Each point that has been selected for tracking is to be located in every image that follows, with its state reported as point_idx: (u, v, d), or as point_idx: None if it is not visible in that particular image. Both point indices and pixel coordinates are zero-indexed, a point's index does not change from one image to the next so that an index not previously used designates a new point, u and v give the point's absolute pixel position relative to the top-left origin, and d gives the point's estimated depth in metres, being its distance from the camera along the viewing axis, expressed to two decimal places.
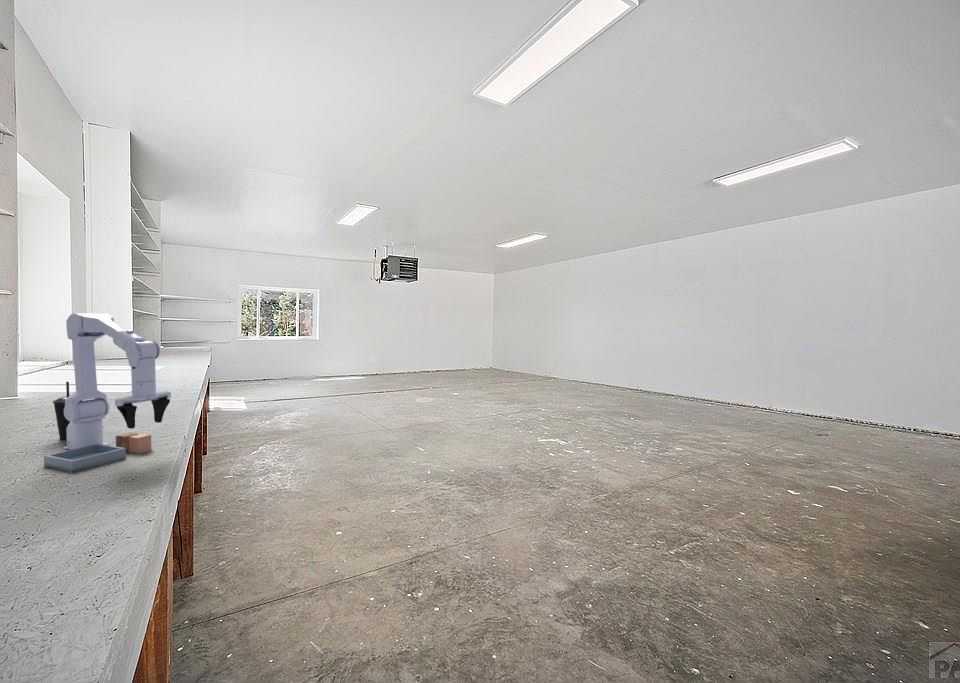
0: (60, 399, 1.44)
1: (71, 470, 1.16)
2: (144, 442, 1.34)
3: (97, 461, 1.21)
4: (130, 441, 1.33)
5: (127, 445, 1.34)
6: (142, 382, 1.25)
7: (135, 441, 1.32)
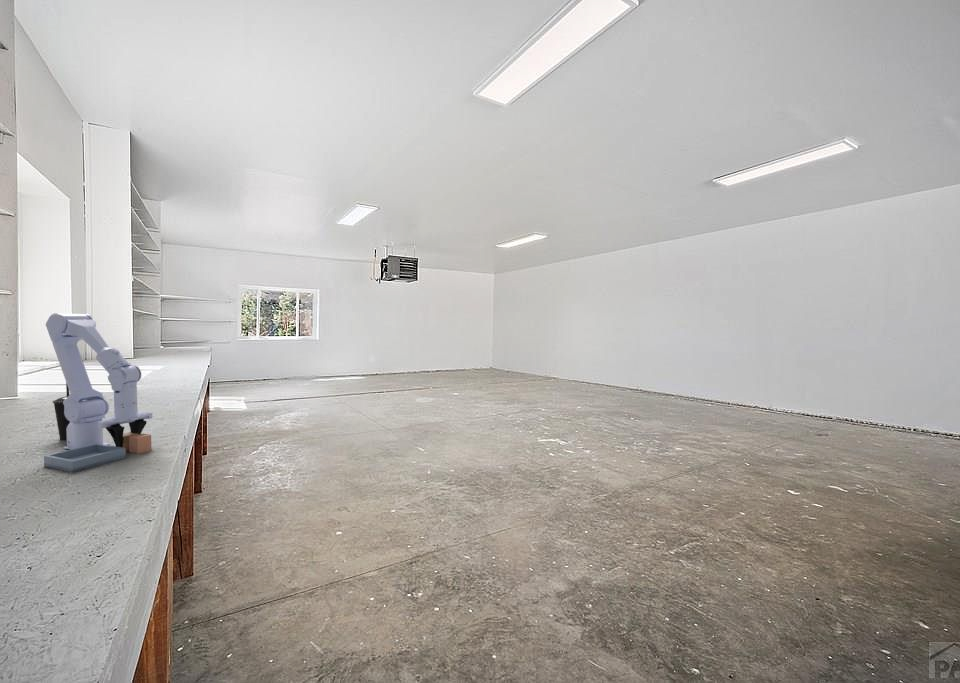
0: (60, 399, 1.44)
1: (71, 470, 1.16)
2: (144, 442, 1.34)
3: (97, 461, 1.21)
4: (130, 441, 1.33)
5: (127, 445, 1.34)
6: (124, 405, 1.33)
7: (135, 441, 1.32)
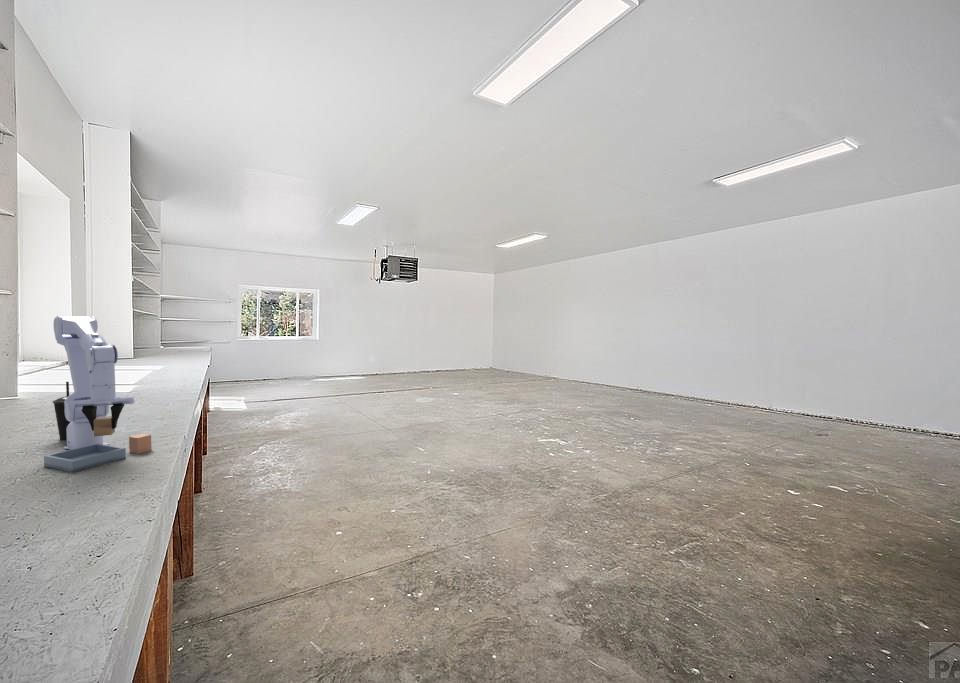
0: (60, 399, 1.44)
1: (71, 470, 1.16)
2: (144, 442, 1.34)
3: (97, 461, 1.21)
4: (130, 441, 1.33)
5: (97, 429, 1.27)
6: (93, 386, 1.26)
7: (135, 441, 1.32)
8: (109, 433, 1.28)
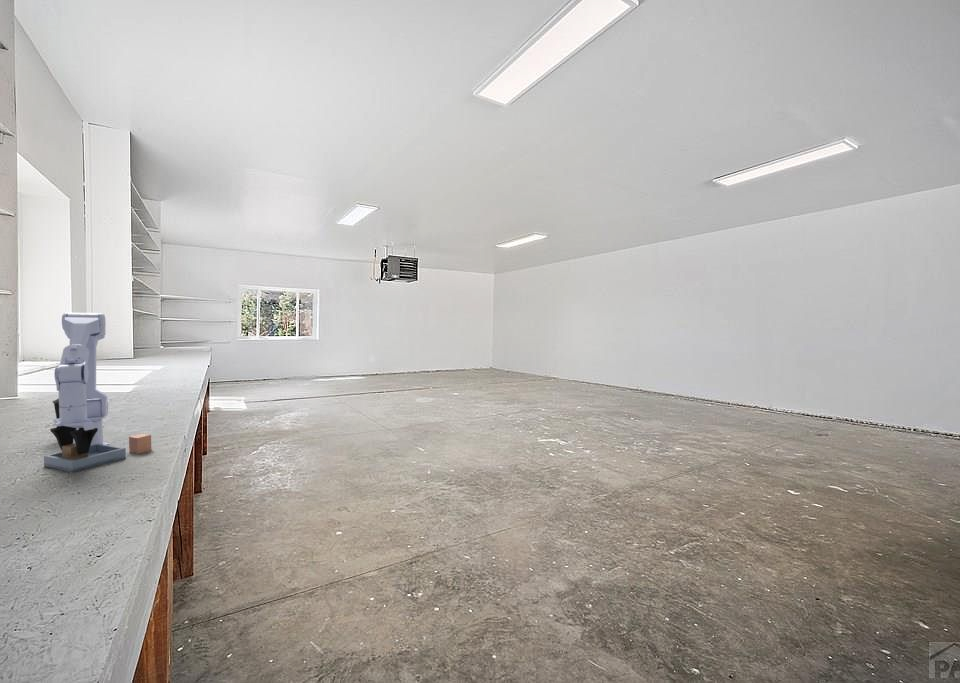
0: None
1: (71, 470, 1.16)
2: (144, 442, 1.34)
3: (97, 461, 1.21)
4: (130, 441, 1.33)
5: (64, 457, 1.20)
6: None
7: (135, 441, 1.32)
8: None
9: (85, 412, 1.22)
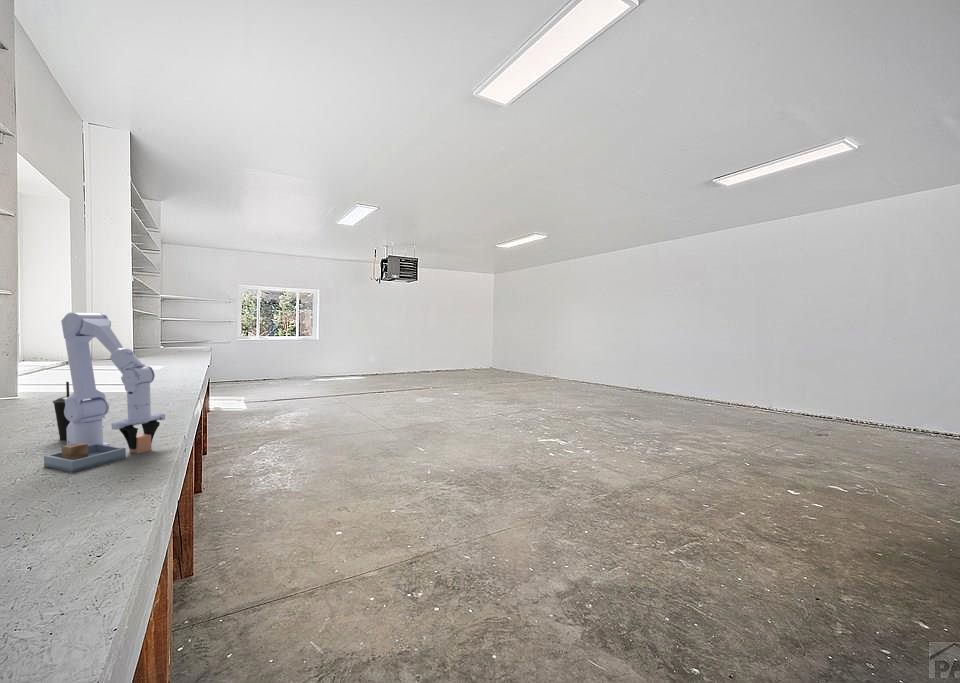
0: (60, 399, 1.44)
1: (71, 470, 1.16)
2: (144, 442, 1.34)
3: (97, 461, 1.21)
4: None
5: (64, 457, 1.20)
6: (137, 406, 1.32)
7: None
8: None
9: None
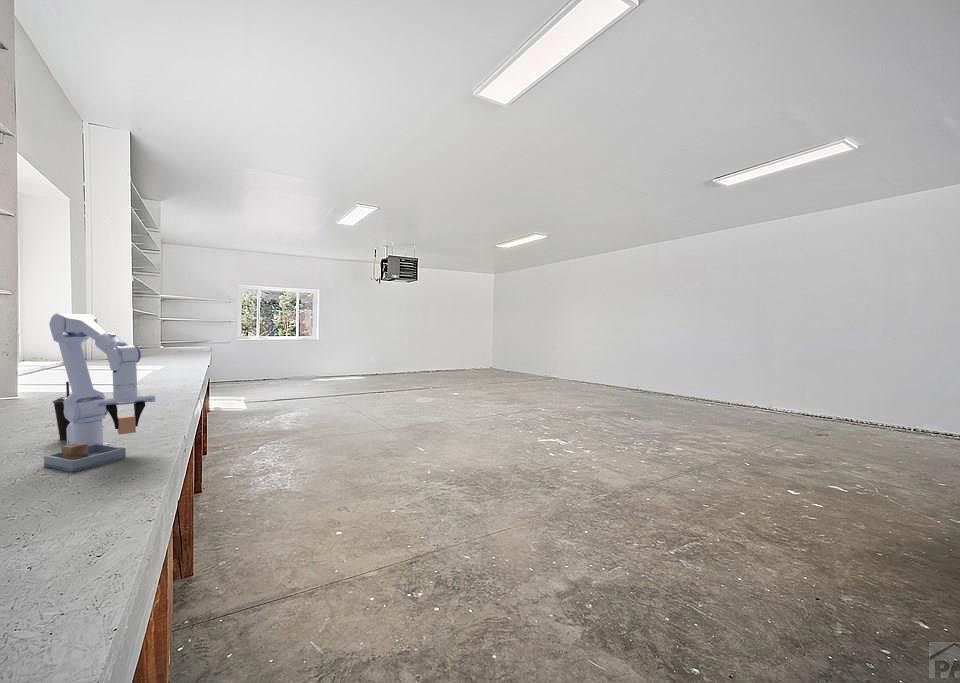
0: (60, 399, 1.44)
1: (71, 470, 1.16)
2: (127, 423, 1.30)
3: (97, 461, 1.21)
4: None
5: (64, 457, 1.20)
6: (118, 385, 1.28)
7: (118, 422, 1.29)
8: None
9: None
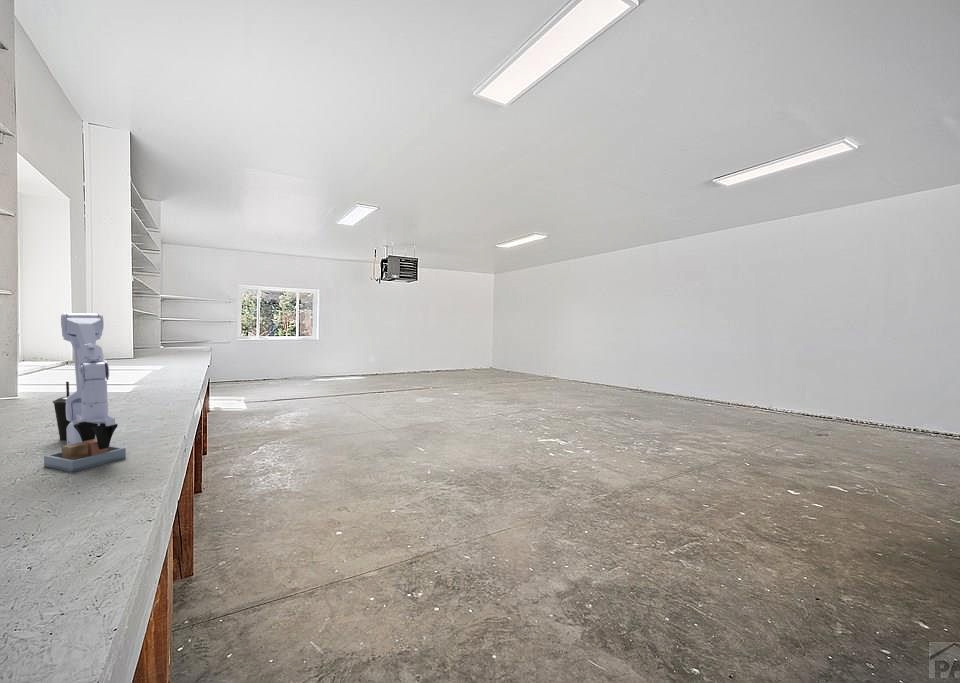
0: (60, 399, 1.44)
1: (71, 470, 1.16)
2: None
3: (97, 461, 1.21)
4: None
5: (64, 457, 1.20)
6: (81, 403, 1.24)
7: None
8: None
9: (106, 408, 1.27)
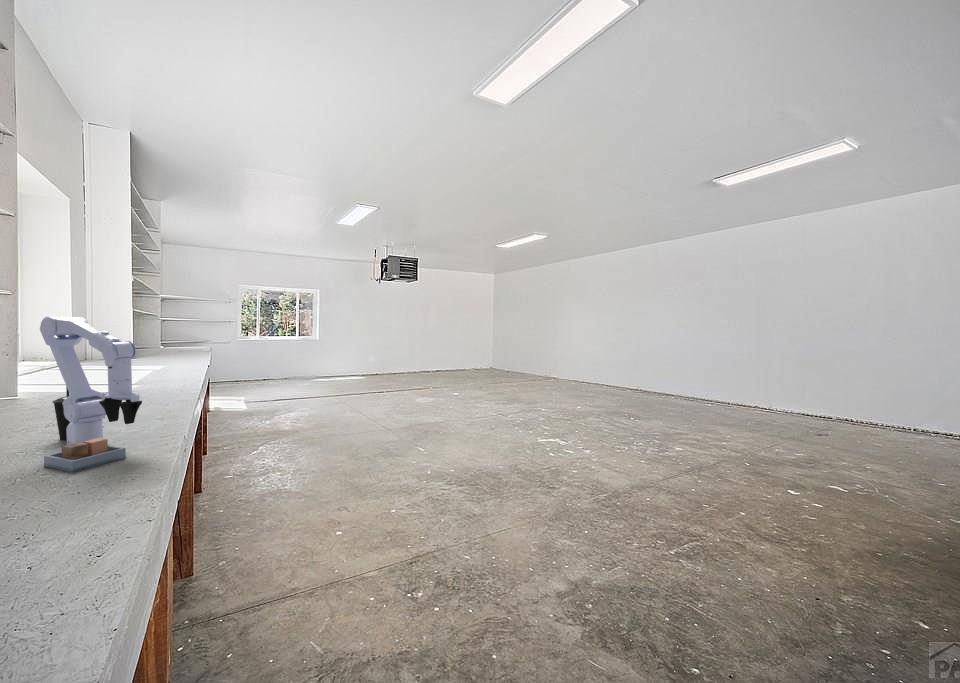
0: (60, 399, 1.44)
1: (71, 470, 1.16)
2: None
3: (97, 461, 1.21)
4: None
5: (64, 457, 1.20)
6: (108, 380, 1.31)
7: None
8: None
9: (130, 386, 1.34)
